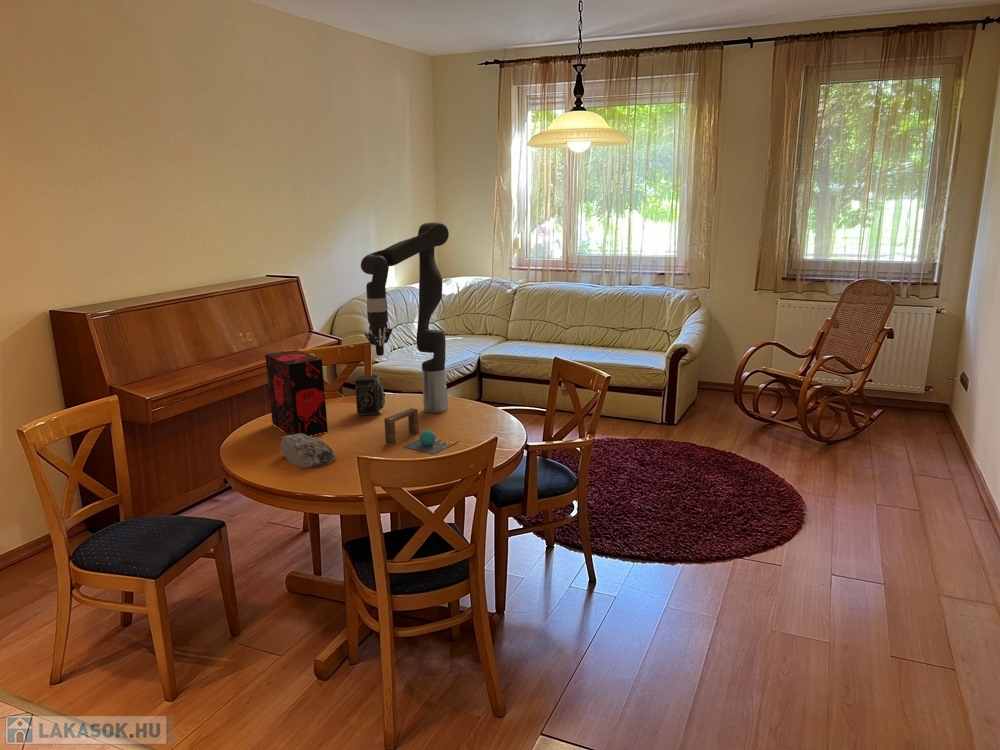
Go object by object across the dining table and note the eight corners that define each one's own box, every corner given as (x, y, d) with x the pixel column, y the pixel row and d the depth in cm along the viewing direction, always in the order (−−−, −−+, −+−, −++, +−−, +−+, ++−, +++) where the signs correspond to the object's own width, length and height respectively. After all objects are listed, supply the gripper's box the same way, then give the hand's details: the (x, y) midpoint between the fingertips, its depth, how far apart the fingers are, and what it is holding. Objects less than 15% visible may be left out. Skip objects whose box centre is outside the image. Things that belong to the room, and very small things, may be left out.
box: (272, 424, 270) (265, 354, 263) (303, 418, 277) (296, 349, 270) (295, 439, 252) (288, 364, 245) (327, 432, 259) (321, 359, 253)
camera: (382, 416, 277) (380, 380, 274) (356, 416, 278) (353, 380, 274) (387, 409, 288) (385, 373, 284) (361, 409, 288) (359, 374, 284)
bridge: (385, 443, 246) (384, 418, 244) (412, 432, 258) (411, 408, 255) (392, 445, 244) (390, 419, 242) (418, 433, 256) (417, 409, 254)
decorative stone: (274, 453, 234) (279, 425, 232) (309, 451, 244) (314, 424, 242) (302, 477, 221) (308, 447, 219) (338, 473, 231) (344, 445, 229)
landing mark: (427, 435, 253) (427, 435, 253) (458, 442, 246) (458, 441, 246) (402, 447, 242) (402, 446, 242) (434, 454, 234) (434, 453, 234)
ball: (430, 424, 244) (440, 435, 241) (426, 435, 247) (436, 446, 245) (418, 429, 240) (428, 440, 238) (414, 440, 243) (424, 451, 241)
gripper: (382, 306, 265) (384, 351, 269) (357, 311, 255) (360, 357, 259) (396, 308, 261) (399, 353, 265) (372, 312, 251) (375, 359, 255)
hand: (380, 355), depth 262 cm, fingers closed
